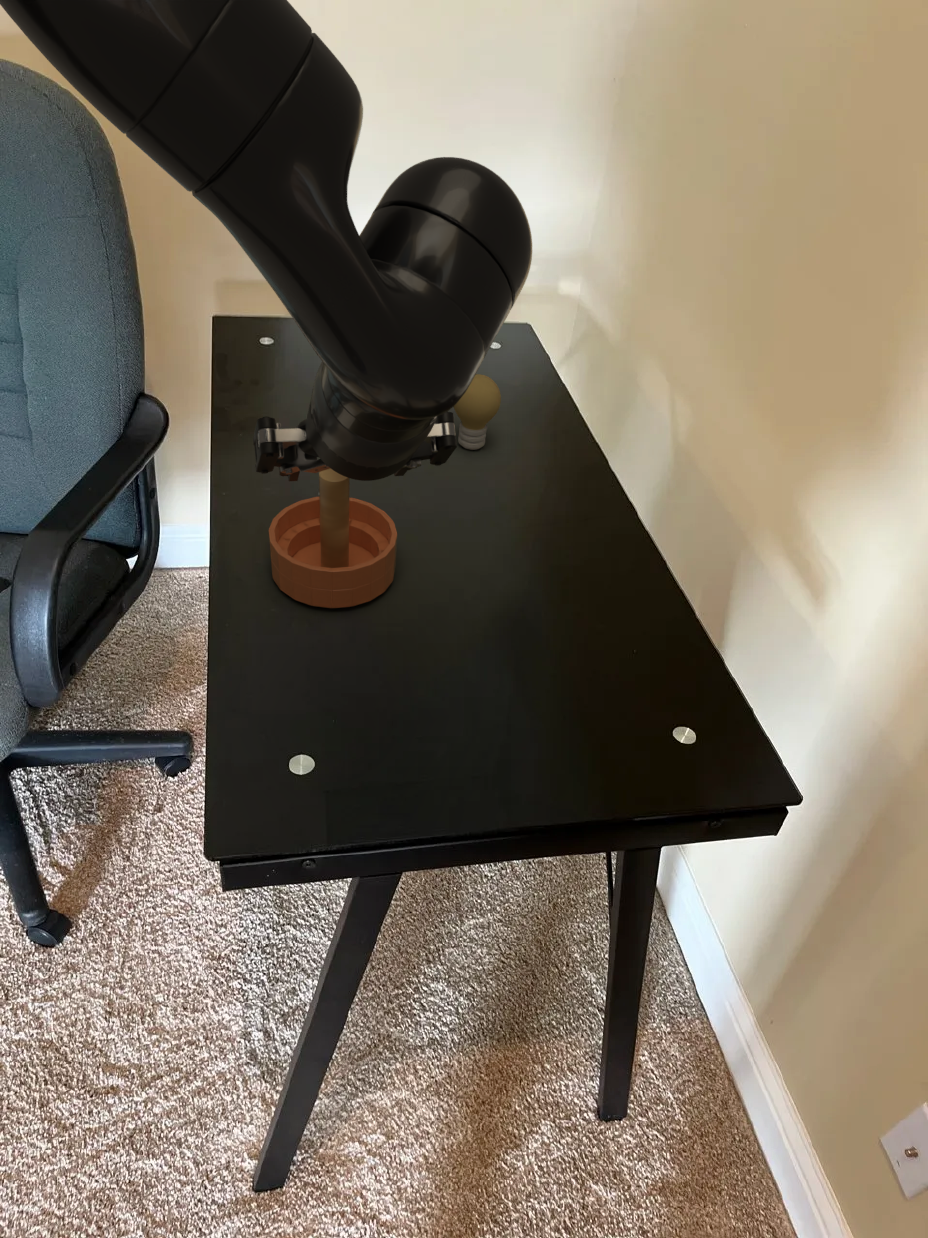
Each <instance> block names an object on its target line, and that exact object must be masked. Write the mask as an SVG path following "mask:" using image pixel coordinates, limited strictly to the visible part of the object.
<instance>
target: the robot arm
mask: <svg viewBox="0 0 928 1238" xmlns="http://www.w3.org/2000/svg"><path fill="white" fill-rule="evenodd" d="M0 6H1V8H2V9H3V10H4V11H5V13H6V14H7V15H8V16H9V17H10V19H11V21H13V22H14V24H15V25H16V26H17V27H18V28H19V29H20V30H21V32H22V33H23V34H24V35H25V36H26V38H27V39H28V40H29V41H30V42H31V43H32V44H33V45H34V47H35V48H36V49H37V50H38V51H39V52H40V54H42V56H44V58H45V59H46V60H47V62H48V63H50V65H52V66H53V68H54V69H56V71H57V72H58V73H59V74H60V75H61V76H62V77H63V78H64V79H65V80H66V81H67V82H68V83H69V84H70V85H71V86H72V87H73V88H74V89H75V90H76V91H77V92H78V93H79V94H80V95H81V96H82V97H83V98H84V99H85V100H86V101H87V102H88V103H89V104H91V106H92V107H94V109H96V110H97V111H98V112H99V113H100V114H101V115H102V116H103V117H104V118H105V119H106V120H108V121H109V122H110V124H112V125H113V126H114V127H115V128H116V129H117V130H118V131H120V132H121V133H122V134H124V135H125V137H126V138H128V139H129V141H131V142H132V143H133V144H134V145H135V146H136V147H138V149H140V150H141V151H142V152H143V153H144V154H146V155H147V156H148V157H149V158H150V159H151V160H152V161H153V162H154V163H155V164H156V165H158V166H159V167H160V168H161V169H162V170H163V171H165V172H166V173H167V174H168V175H169V176H170V177H171V178H172V179H174V180H175V181H176V183H178V184H179V185H180V187H181V186H182V187H183V188H184V189H185V190H186V191H187V192H190V193H191V195H192V196H193V197H194V198H195V199H196V200H197V201H198V202H200V203H201V205H203V206H204V207H205V208H206V209H207V210H208V211H209V212H211V213H212V214H213V215H214V216H215V217H216V218H217V219H218V221H220V223H221V224H222V225H223V227H224V228H225V229H226V230H227V231H228V232H229V234H230V235H231V236H232V237H233V238H234V240H235V241H236V242H237V244H238V245H239V246H240V247H241V249H242V251H243V252H244V253H245V255H247V257H248V258H249V259H250V261H251V262H252V263H253V265H254V266H255V268H256V269H257V271H258V272H259V273H260V274H261V276H262V277H263V279H265V282H266V283H267V284H268V285H269V286H270V288H271V289H272V290H273V292H274V293H275V295H276V296H277V297H278V299H279V301H280V302H281V303H282V305H283V306H284V307H285V309H286V310H287V312H288V313H289V315H290V316H291V318H292V319H293V321H294V322H295V324H296V325H297V327H298V328H299V330H300V331H301V333H302V335H303V336H304V337H305V339H306V340H307V342H308V343H309V345H310V346H311V348H312V349H313V351H314V352H315V354H316V355H317V356H318V358H319V359H320V361H321V362H320V364H319V366H318V369H317V372H316V375H315V378H314V383H313V386H312V390H311V395H310V401H309V406H308V410H307V414H306V418H305V419H303V420H302V421H300V422H299V423H298V424H297V425H296V427H295V428H282V424H281V423H280V422H276V421H277V420H276V418H275V417H270V416H262V417H259V418H258V419H257V420H256V423H255V428H254V432H253V436H252V442H253V444H252V445H253V447H254V456H255V457H254V458H255V472H256V473H260V474H263V475H265V474H268V473H271V472H274V468H278V474H279V476H280V477H287V479H288V480H287V481H288V482H298V480H299V476H300V473H301V472H302V473H303V472H304V473H312V474H317V473H319V472H321V471H324V470H327V469H330V468H331V469H332V470H334V471H335V472H337V473H339V474H340V475H342V476H345V477H348V478H350V479H351V480H355V481H363V482H369V481H370V482H371V481H378V480H382V479H385V478H388V477H390V476H392V475H393V476H394V477H403V476H405V475H406V473H407V472H408V471H411V470H413V469H417V468H420V467H421V466H422V461H427V460H429V463H430V465H432V466H436V467H438V466H442V465H443V464H446V463H447V461H449V459H450V457H451V456H452V454H453V453H454V452H455V450H456V449H457V447H458V445H457V436H456V435H457V434H456V426H455V424H456V423H455V415H454V412H452V411H450V410H452V409H453V408H454V406H455V405H456V404H457V403H458V401H459V400H460V399H461V397H462V396H463V395H464V394H465V392H466V391H467V389H468V387H469V385H470V384H471V382H472V380H473V378H474V377H475V375H476V374H478V371H479V369H480V367H481V366H482V363H483V362H484V359H485V357H486V356H487V354H488V352H489V350H490V348H491V347H492V345H493V343H494V342H495V339H496V338H497V336H498V334H499V332H500V330H501V329H502V327H503V325H504V323H505V321H506V319H507V318H508V316H509V314H510V313H511V311H512V309H513V307H514V306H515V303H516V301H517V299H518V298H519V296H520V294H521V292H522V290H523V289H524V287H525V284H526V282H527V279H528V276H529V273H530V271H531V268H532V267H531V266H532V262H533V261H532V260H533V237H532V231H531V226H530V223H529V219H528V217H527V214H526V211H525V208H524V206H523V204H522V202H521V200H520V199H519V198H518V196H517V194H516V193H515V191H514V190H513V189H512V188H511V186H510V185H509V184H508V183H507V182H506V180H504V179H503V178H502V176H500V175H499V174H497V173H496V172H495V171H493V170H492V169H490V168H489V167H487V166H485V165H483V164H481V163H479V162H477V161H474V160H471V159H468V158H467V159H466V158H463V157H456V156H440V157H431V158H428V159H424V160H422V161H419V162H417V163H415V164H413V165H411V166H410V167H408V168H406V169H405V170H404V171H402V172H401V173H400V174H399V175H398V176H397V177H395V178H394V180H393V181H392V182H391V183H390V184H389V186H388V187H387V188H386V190H385V191H384V193H383V195H382V197H381V198H380V199H379V201H378V203H377V205H376V206H375V208H374V209H373V211H372V212H371V215H370V217H369V219H368V220H367V222H366V224H365V225H364V227H363V229H362V231H361V232H360V234H359V232H358V230H357V227H356V225H355V222H354V220H353V217H352V214H351V210H350V208H349V207H350V206H349V203H348V201H349V200H348V194H349V193H348V188H349V180H350V174H351V168H352V166H353V161H354V158H355V155H356V151H357V148H358V144H359V140H360V137H361V133H362V132H361V131H362V127H363V119H364V103H363V99H362V98H363V97H362V96H361V92H360V90H359V88H358V86H357V84H356V83H355V81H354V79H353V77H352V76H351V75H350V74H349V71H348V70H347V69H346V68H345V66H344V65H343V64H342V63H341V61H340V60H339V59H338V58H337V57H336V55H335V54H334V53H333V51H332V50H331V49H330V48H329V47H328V46H327V45H326V43H325V42H324V41H323V40H322V39H321V38H320V36H318V34H317V33H315V32H313V29H312V27H311V26H310V25H309V24H308V23H307V21H305V19H304V18H303V16H301V14H300V13H299V12H298V11H297V10H296V9H295V8H294V6H293V5H292V4H291V3H290V2H289V1H288V0H0Z"/></svg>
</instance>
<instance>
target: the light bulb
mask: <svg viewBox="0 0 928 1238" xmlns="http://www.w3.org/2000/svg"><path fill="white" fill-rule="evenodd" d="M501 395H502V394H501V391H500V388H499V386H498V384H497V383H496V381H494V380H493V378H491V377H489V376H487V375H485V374H480V373H476V375H475V377H474V378H473V380H472V382H471V384H470V385H469V387H468V389H467V391H466V392H465V394H464V395H463V396H462V397H461V399H460V400H459V401H458V403H457V404H456V405H455V406H454V407H453V409H454V412H455V413H456V415H457V417H458V418H459V419H460V422H459V429H458V437H457V442H458V444H459V445H460V446H461V447H463V448H464V449H467V450H471V451H473V450H476V451H477V450H479V449H481V448H482V447H484V446H485V444H486V437H487V430H488V425H487V424H488V423H489V422H490V421H491V420H492V419H493V418H494V417H495V416H496V415H497V413H498V412H499V410H500V407H501V403H502V396H501Z"/></svg>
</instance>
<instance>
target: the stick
mask: <svg viewBox="0 0 928 1238" xmlns="http://www.w3.org/2000/svg"><path fill="white" fill-rule="evenodd" d="M350 479H351V478H348V477H345V476H342V475H340V474H339V473H337V472H335V471H334V470H332V469H331V468H330V469H327V470H324V471H321V472H318V495H319V496H318V497H319V500H320V548H321V567H327V568H340V567H349V497H350Z"/></svg>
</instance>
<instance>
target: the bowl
mask: <svg viewBox="0 0 928 1238" xmlns="http://www.w3.org/2000/svg"><path fill="white" fill-rule="evenodd" d="M269 525H270V526H269V528H268V541H269V555H270V567H271V577H272V580H273V581H274V582H275V584H276V585H277V587H278V588H279V590H280V591H282V593H284V594H286V596H289V597H290V598H291V599H292V600H294V601H297V602H299V603H303V604H305V605H308V606H311V607H319V608H326V609H340V608H350V607H355V606H358V605H362V604H365V603H368V602H371V601H373V600H374V599H376V598H377V597H379V596H380V595H382V594H384V593H385V592H386V591H387V589H388V588H389V587H390V586H391V584H392V583H393V581H394V578H395V574H396V567H397V566H396V563H397V549H398V548H397V547H398V531H397V527H396V524H395V522H394V520H393V519H392V518H391V517H390V516H389V515H388V514H387V513H386V511H384V510H383V509H381V508H379V507H378V506H376V505H374V504H373V503H371V502H368V501H365V500H362V499H358V498H355V497H350V496H349V567H340V568H327V567H321V548H320V500H319V496H313V497H310V498H305V499H301V500H298V501H296V502H294V503H292V504H290V505H288V506H286V507H284V508H283V509H281V510H280V511H279V512H278V513H277V514H276V515H275V516H274V517H273V518H272V520H271V523H270V524H269Z"/></svg>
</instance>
